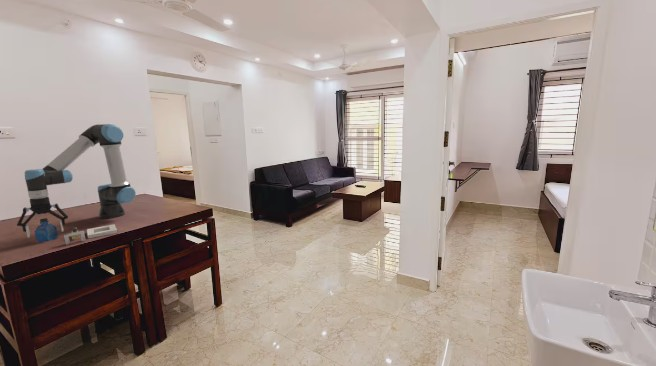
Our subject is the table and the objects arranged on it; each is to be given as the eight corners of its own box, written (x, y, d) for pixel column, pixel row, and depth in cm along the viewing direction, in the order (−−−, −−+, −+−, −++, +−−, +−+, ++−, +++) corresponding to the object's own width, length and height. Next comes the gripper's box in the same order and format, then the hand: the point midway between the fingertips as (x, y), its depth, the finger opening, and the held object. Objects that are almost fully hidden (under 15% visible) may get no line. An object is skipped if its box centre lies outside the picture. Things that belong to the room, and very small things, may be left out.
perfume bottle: (46, 237, 163) (42, 217, 160) (58, 237, 163) (54, 217, 161) (36, 241, 157) (32, 221, 154) (48, 241, 157) (44, 220, 155)
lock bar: (72, 236, 165) (70, 227, 164) (79, 234, 166) (77, 226, 166) (72, 239, 159) (70, 231, 158) (79, 238, 161) (77, 230, 160)
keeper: (65, 243, 153) (64, 234, 152) (85, 239, 159) (83, 230, 158) (65, 244, 152) (63, 235, 151) (85, 240, 157) (84, 231, 156)
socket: (87, 232, 170) (86, 229, 170) (115, 227, 179) (114, 224, 179) (88, 238, 160) (87, 235, 160) (117, 232, 169) (116, 229, 169)
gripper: (4, 202, 144) (12, 241, 148) (69, 195, 161) (75, 230, 165) (6, 199, 150) (14, 237, 154) (69, 193, 166) (75, 227, 170)
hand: (46, 233), depth 159 cm, fingers open, 13 cm apart
